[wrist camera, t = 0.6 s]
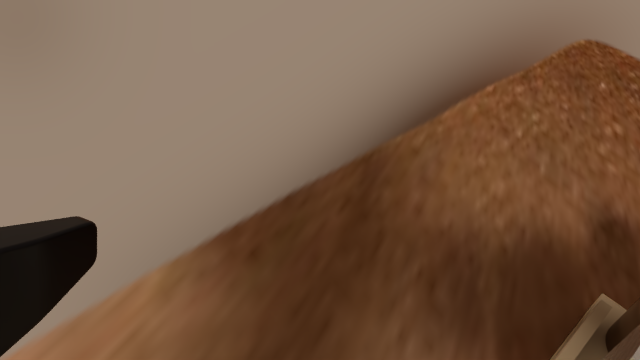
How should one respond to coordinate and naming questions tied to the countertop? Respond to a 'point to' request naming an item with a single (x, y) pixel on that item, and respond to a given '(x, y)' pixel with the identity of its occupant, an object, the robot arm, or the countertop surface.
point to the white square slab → (626, 347)
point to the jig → (599, 330)
